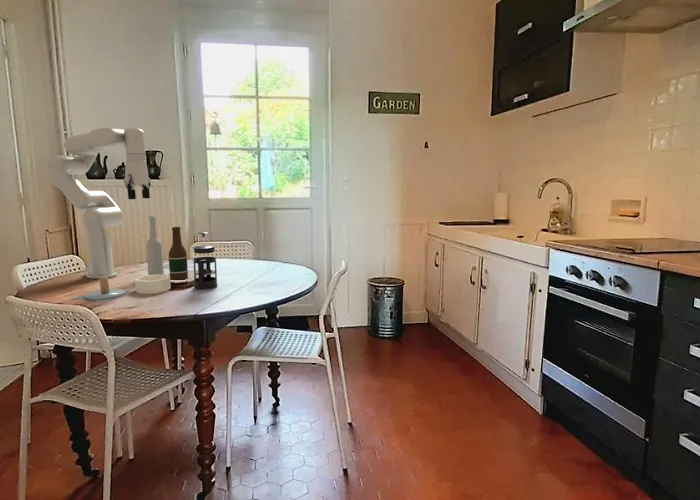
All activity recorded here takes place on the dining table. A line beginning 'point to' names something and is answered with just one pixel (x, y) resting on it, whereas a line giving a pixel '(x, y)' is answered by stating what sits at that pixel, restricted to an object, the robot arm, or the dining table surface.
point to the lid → (104, 291)
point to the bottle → (154, 251)
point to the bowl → (152, 284)
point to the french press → (205, 281)
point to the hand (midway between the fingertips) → (139, 198)
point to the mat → (104, 299)
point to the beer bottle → (177, 257)
